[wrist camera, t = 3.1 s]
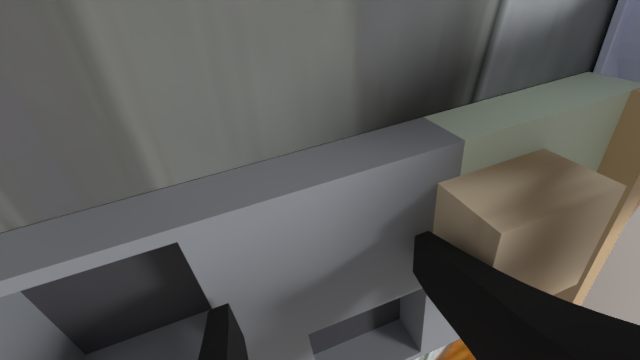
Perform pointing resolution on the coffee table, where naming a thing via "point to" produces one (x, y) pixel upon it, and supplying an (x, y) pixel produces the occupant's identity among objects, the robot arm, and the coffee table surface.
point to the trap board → (299, 239)
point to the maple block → (529, 217)
